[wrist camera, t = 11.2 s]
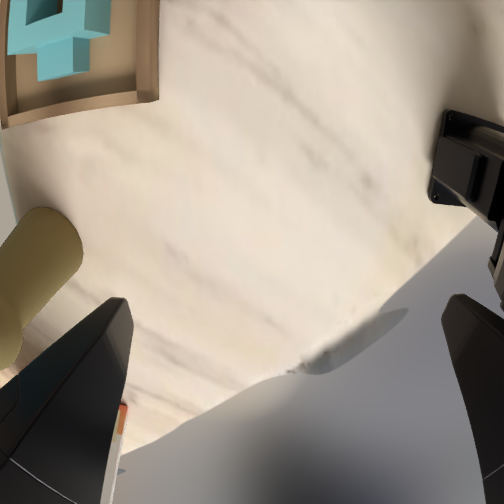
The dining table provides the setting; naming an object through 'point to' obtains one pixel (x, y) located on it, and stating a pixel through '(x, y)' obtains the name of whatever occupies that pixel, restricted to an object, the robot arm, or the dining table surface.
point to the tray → (87, 83)
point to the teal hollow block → (57, 33)
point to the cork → (33, 272)
